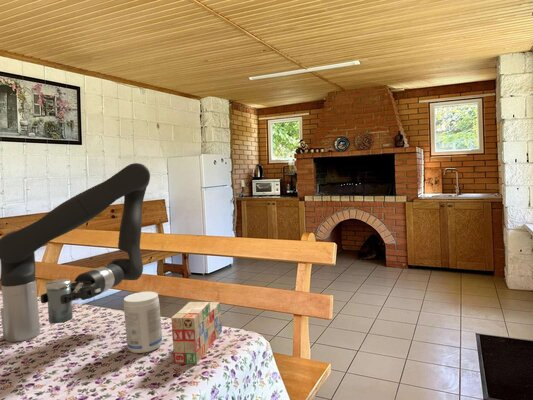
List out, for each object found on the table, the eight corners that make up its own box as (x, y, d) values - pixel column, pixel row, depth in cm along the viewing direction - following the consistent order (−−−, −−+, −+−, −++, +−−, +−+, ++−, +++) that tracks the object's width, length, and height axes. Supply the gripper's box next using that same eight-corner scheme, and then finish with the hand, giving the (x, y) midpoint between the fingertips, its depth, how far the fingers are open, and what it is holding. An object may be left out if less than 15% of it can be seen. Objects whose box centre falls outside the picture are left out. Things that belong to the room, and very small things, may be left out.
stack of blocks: (202, 331, 121) (200, 291, 121) (222, 331, 120) (220, 292, 119) (173, 364, 100) (170, 316, 100) (197, 365, 99) (194, 317, 99)
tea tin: (43, 323, 100) (40, 284, 100) (59, 315, 106) (57, 278, 105) (62, 324, 99) (60, 285, 98) (77, 316, 105) (75, 279, 104)
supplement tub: (159, 337, 118) (155, 289, 117) (165, 349, 109) (162, 297, 108) (125, 344, 114) (121, 294, 113) (129, 357, 105) (125, 303, 104)
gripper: (73, 269, 117) (27, 284, 101) (116, 270, 114) (75, 286, 98) (74, 293, 118) (29, 313, 101) (117, 295, 115) (77, 315, 98)
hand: (52, 299), depth 100 cm, fingers closed on tea tin, 5 cm apart
